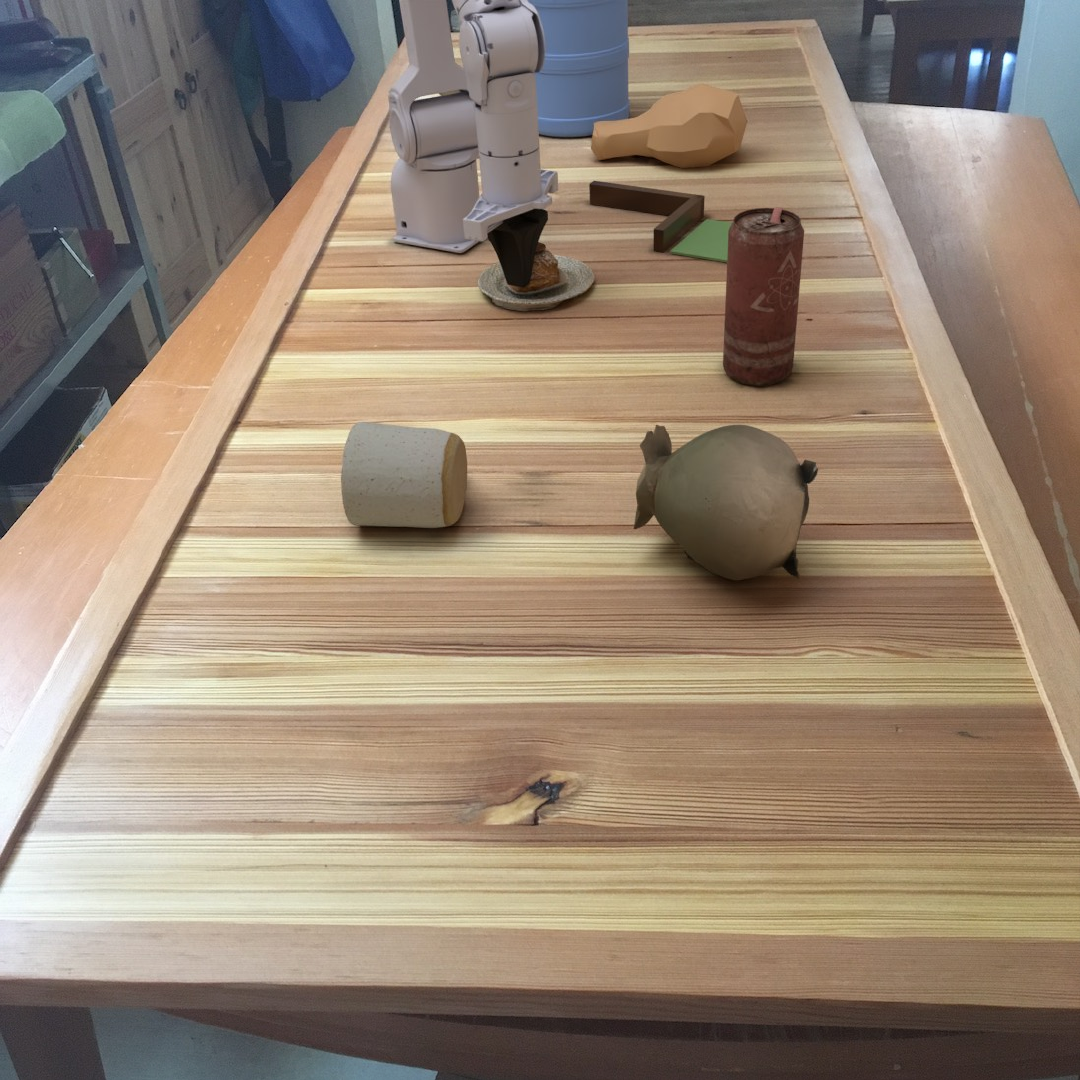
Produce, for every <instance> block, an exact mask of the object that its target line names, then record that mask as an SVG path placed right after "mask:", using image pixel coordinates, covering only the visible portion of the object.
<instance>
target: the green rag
mask: <svg viewBox="0 0 1080 1080" xmlns="http://www.w3.org/2000/svg"><path fill="white" fill-rule="evenodd" d="M732 223H733V222H730V221H724V220H723V221H722V220H717V219H709V218H706V219H705V220H704V221H703V222H701V223H699V225H698V226H697V227H696V228H694V229H693V230H692V231H691V232H690V233H689V234H688V235H687V236H685V238H683V239H682V240H681V241H680V242H679V243H677V245H676V246H674V247H673V248H672V249H671V250H670V252H669V253H670V254H671V255H677V256H683V257H687V258H695V259H702V260H708V261H714V262H720V263H725V264H727V254H728V230H729V228H730V226H731V225H732Z"/></svg>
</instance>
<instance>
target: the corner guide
mask: <svg viewBox="0 0 1080 1080" xmlns="http://www.w3.org/2000/svg"><path fill="white" fill-rule="evenodd" d="M588 186H589V205H592V206H600V207H606V208H614V209H620V210H621V209H622V210H628V211H634V212H640V213H641V212H642V213H648V214H655V215H661V216H667V217H666V218H665V219H664V220H663V221H661V222H660V223H659V224H658V225H656V226H655V227H654V228H653V248H652V249H653V252H659V253H665V252H666V251H667V250H668V249H669V248H670V247H671V246H672V245H674V244H675V243H676V242H677V241H678V240H679V239H681V238H682V237H683V236H684V235H686V233H687V232H688V231H690V230H691V229H692V228H693V227H694V226H695V225H696V224H697V223H699V222H700V221H701V220H702V219H703V218H704V217H705V198H706V197H705V195H703V194H696V193H695V194H694V193H688V192H680V191H672V190H666V189H658V188H652V187H651V188H650V187H644V186H637V185H629V184H622V183H615V182H607V181H600V180H593V181H591V182H590V183H589V184H588Z"/></svg>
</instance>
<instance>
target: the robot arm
mask: <svg viewBox="0 0 1080 1080" xmlns="http://www.w3.org/2000/svg"><path fill="white" fill-rule="evenodd" d="M451 2H452V5H453V8H454V10H455V13H456V16H457V20H458V22H459V25H460V27H459V35H458V41H459V42H458V47H459V48H458V49H459V55H460V60H461V63H462V65H460V64H459V63H457V62H456V61H455V60H456V59H455V52H454V45H453V38H452V31H451V24H450V17H449V11H448V4H447V0H398V3H399V8H400V14H401V20H402V21H401V22H402V26H403V27H402V28H403V35H404V39H405V45H406V52H407V58H408V66H407V68H405V70H404V71H403V72H402V74H401V75H400V76H399V77H398V78H397V79H396V80H395V82H394V83H393V84H392V85H391V86H390V88H389V90H388V95H387V98H388V106H389V115H388V117H389V120H388V121H389V130H390V137H391V140H392V144H393V147H394V149H395V152H396V154H397V156H398V157H399V158H398V159H397V160H396V162H395V164H394V165H393V168H392V171H391V175H390V193H391V200H392V208H393V214H394V216H393V217H394V222H395V229H396V235H394V236H393V237H392V241H393V242H395V243H400V244H405V245H411V246H417V247H423V248H429V249H434V250H438V251H439V250H440V251H445V252H451V253H457V254H463V253H465V252H467V251H468V250H469V249H471V248H472V247H474V246H475V245H476V244H478V243H480V242H483V243H484V242H485V241H486V240H488V241H489V243H490V245H491V247H492V248H493V250H494V252H495V254H496V256H497V259H498V262H500V264H501V267H502V270H503V273H504V276H505V279H506V281H507V284H508V285H512V286H517V287H522V288H524V287H526V286H527V285H528V284H529V283H530V279H531V274H532V269H533V263H534V258H535V253H536V248H537V245H538V242H540V238H541V236H542V233H543V230H544V229H545V227H546V224H547V223H548V221H549V212H548V210H546V209H547V208H548V207H549V206H551V205H553V196H552V195H549V194H554V193H556V192H558V191H559V176H558V175H559V173H558V171H557V170H551V169H542V168H541V151H540V134H539V130H538V112H537V95H536V77H535V75H534V74H533V73H534V72H535V73H538V72H540V71H541V70H542V68H543V65H544V62H545V51H546V49H545V37H544V31H543V27H542V24H541V20H540V17H539V14H538V12H537V10H536V9H535V7H534V6H533V5H532V4H530V3H529V2H528V1H527V0H451ZM455 90H458V91H459V92H460V93H454V94H448V95H443V96H441V95H439V93H444V92H449V91H455ZM431 95H432V97H426V96H431ZM433 95H438V96H433ZM421 97H426V98H421ZM419 98H420V99H419ZM477 160H478V162H479V173H480V186H481V194H480V187H479V175H478V164H477V163H478V162H477Z"/></svg>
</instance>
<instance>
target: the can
mask: <svg viewBox="0 0 1080 1080" xmlns="http://www.w3.org/2000/svg"><path fill="white" fill-rule="evenodd" d="M731 223H732V225H731V226H730V228H729V230H728V254H727V263H726V281H725V282H726V283H725V304H724V306H725V307H724V325H723V326H724V329H723V348H722V349H723V350H722V352H723V353H722V366H723V370H724V372H725V373H726V374H727V376H728V377H729V378H730V379H731V380H733V381H735V382H736V383H738V384H742V385H745V386H753V387H763V386H764V387H767V386H772V385H776V384H778V383H780V382H783V381H784V380H785V379H786V378H788V376H789V375H790V374H791V372H792V371H793V369H794V361H795V349H796V338H797V325H798V311H799V301H800V290H801V289H800V288H801V278H802V277H801V275H802V265H803V264H802V263H803V252H804V242H805V241H804V240H805V229H804V227H803V225H802V220H801V218H800V216H799V215H798V214H796V213H794V212H793V211H789V210H787V209H783V207H774V208H773V207H760V208H759V207H757V208H751V209H748V210H744V211H742V212H739V213H738V214H736V215H734V217H733V220H732V222H731Z"/></svg>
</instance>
